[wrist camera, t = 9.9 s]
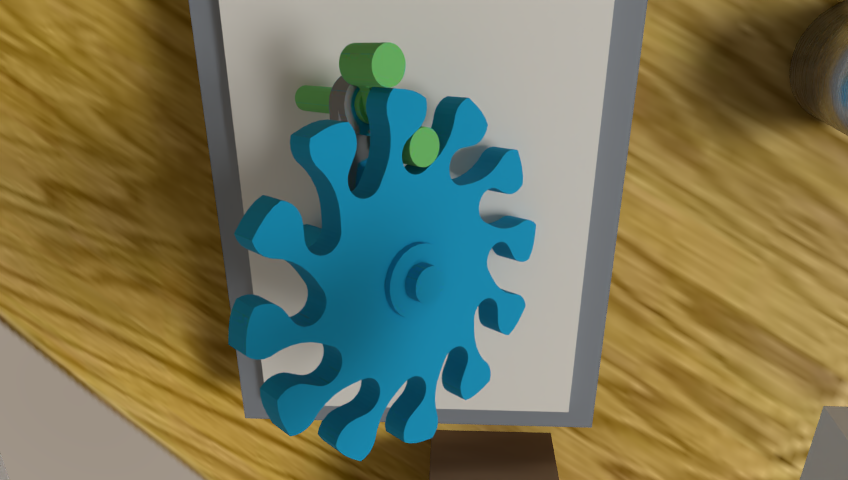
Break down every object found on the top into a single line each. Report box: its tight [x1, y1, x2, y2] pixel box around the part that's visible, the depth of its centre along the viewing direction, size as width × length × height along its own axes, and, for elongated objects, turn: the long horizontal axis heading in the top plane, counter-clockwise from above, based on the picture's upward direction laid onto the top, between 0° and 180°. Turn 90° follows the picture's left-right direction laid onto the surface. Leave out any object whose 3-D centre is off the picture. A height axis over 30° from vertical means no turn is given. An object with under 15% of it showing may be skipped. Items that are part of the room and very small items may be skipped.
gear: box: [228, 42, 536, 461], centre depth 20 cm, size 11×6×10 cm
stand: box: [189, 0, 648, 427], centre depth 23 cm, size 18×13×3 cm
